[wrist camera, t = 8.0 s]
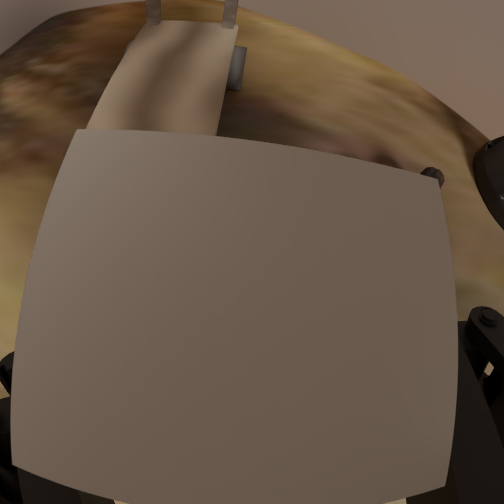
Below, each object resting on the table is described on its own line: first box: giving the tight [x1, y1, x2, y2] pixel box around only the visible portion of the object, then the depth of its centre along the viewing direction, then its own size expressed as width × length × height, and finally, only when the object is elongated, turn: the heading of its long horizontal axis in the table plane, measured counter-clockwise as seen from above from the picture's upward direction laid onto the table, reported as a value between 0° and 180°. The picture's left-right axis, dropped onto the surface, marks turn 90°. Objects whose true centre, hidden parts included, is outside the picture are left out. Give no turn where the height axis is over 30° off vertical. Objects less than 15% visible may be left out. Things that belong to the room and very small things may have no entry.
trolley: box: [86, 0, 247, 136], centre depth 21 cm, size 13×20×19 cm, turn 176°
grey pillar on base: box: [11, 129, 458, 504], centre depth 10 cm, size 7×7×14 cm
